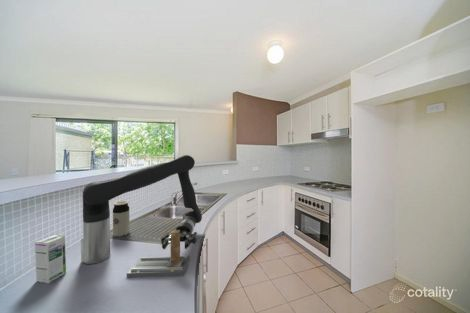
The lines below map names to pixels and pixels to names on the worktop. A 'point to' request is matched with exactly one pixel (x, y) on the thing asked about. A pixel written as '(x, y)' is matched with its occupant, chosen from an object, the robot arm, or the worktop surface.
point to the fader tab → (175, 250)
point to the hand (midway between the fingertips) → (174, 246)
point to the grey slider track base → (157, 267)
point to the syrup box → (50, 258)
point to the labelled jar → (121, 218)
